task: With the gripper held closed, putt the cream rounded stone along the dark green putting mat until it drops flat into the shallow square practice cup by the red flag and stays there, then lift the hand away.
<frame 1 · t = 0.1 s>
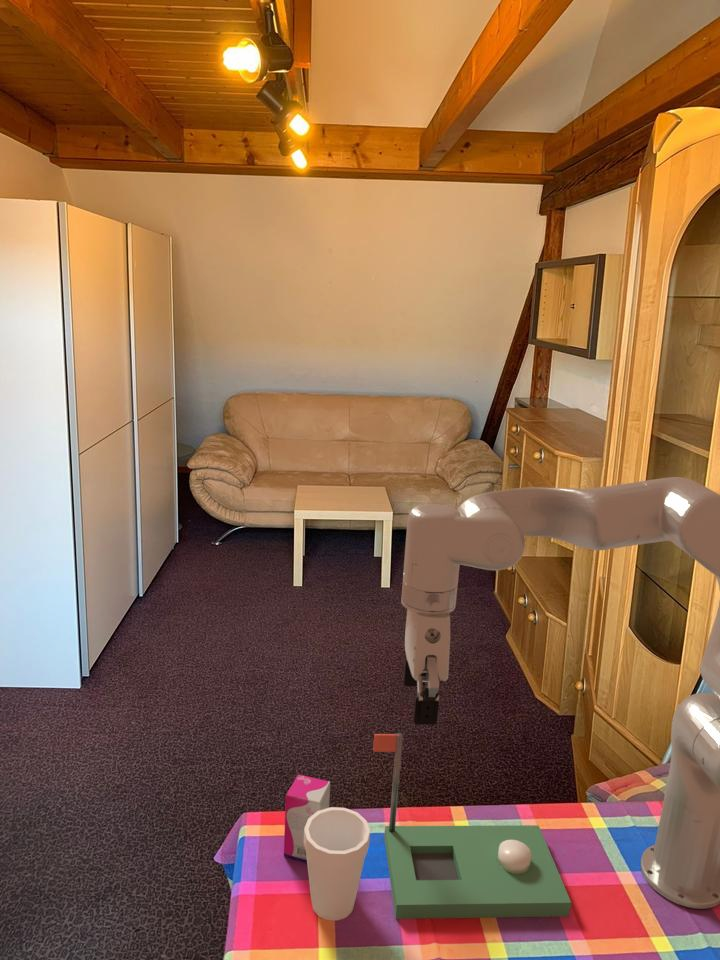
hand: (419, 703, 108), 31 cm above the table, fingers open, 9 cm apart
putting mat: (471, 875, 118), on the table
foam cup: (333, 904, 111), on the table
supplement box: (305, 849, 122), on the table
cream rounded stone: (513, 861, 118), point 2 cm above the table, touching putting mat
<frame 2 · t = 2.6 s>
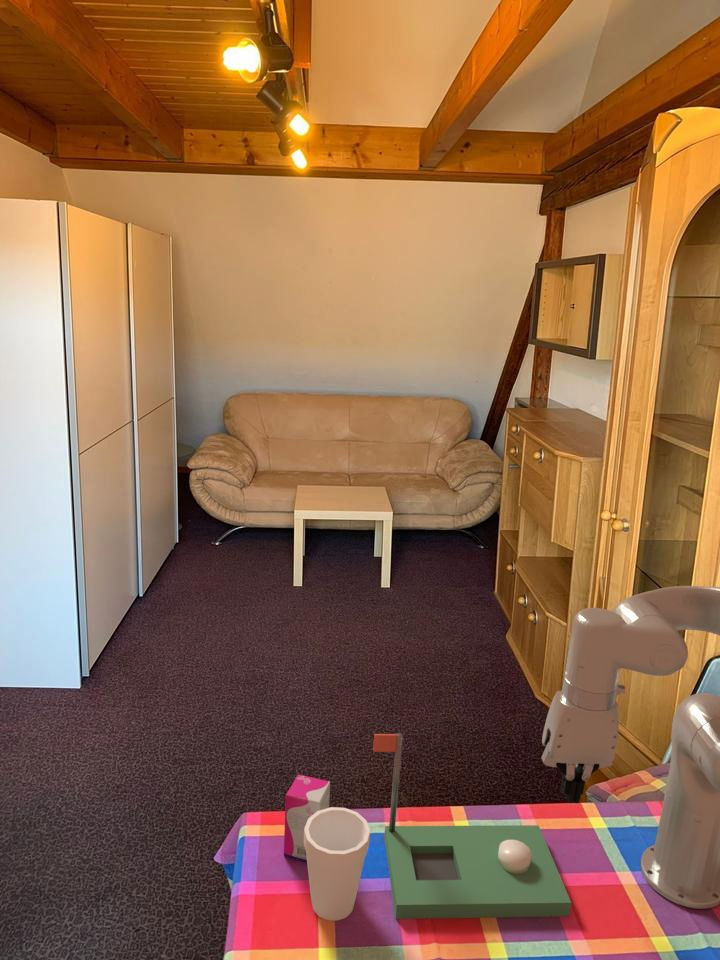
hand: (570, 796, 115), 15 cm above the table, fingers closed
nothing on the table moved.
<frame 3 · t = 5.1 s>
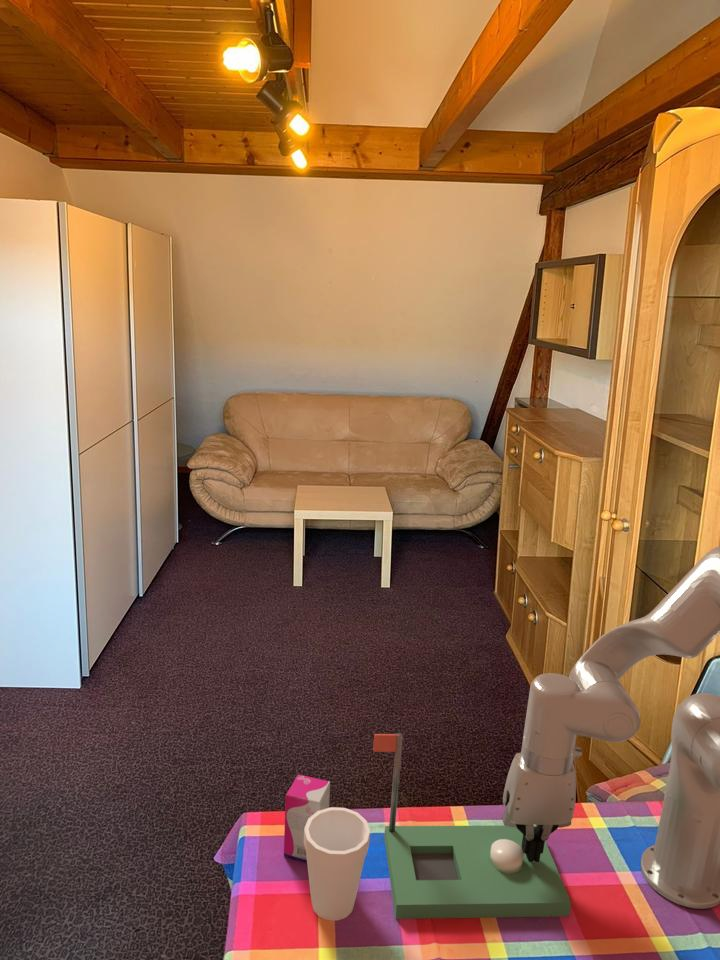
hand: (531, 855, 118), 4 cm above the table, fingers closed
cream rounded stone: (505, 861, 118), point 2 cm above the table, touching gripper, putting mat
everything else where it was.
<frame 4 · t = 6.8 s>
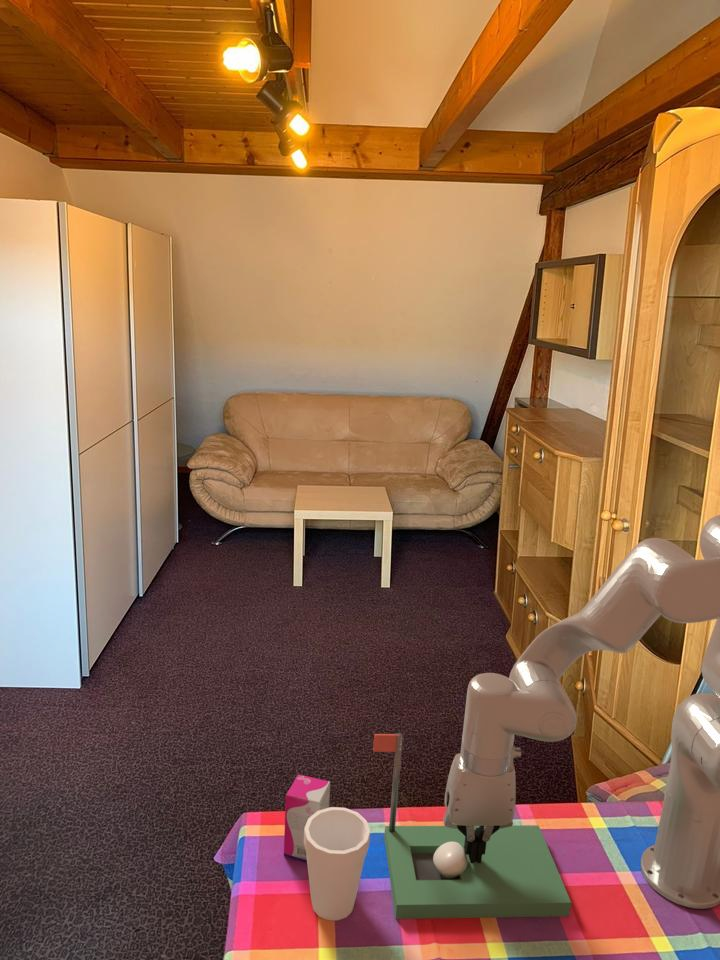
hand: (473, 856, 117), 4 cm above the table, fingers closed
cream rounded stone: (452, 864, 117), point 2 cm above the table, tilted 28°, touching putting mat
everything else where it was.
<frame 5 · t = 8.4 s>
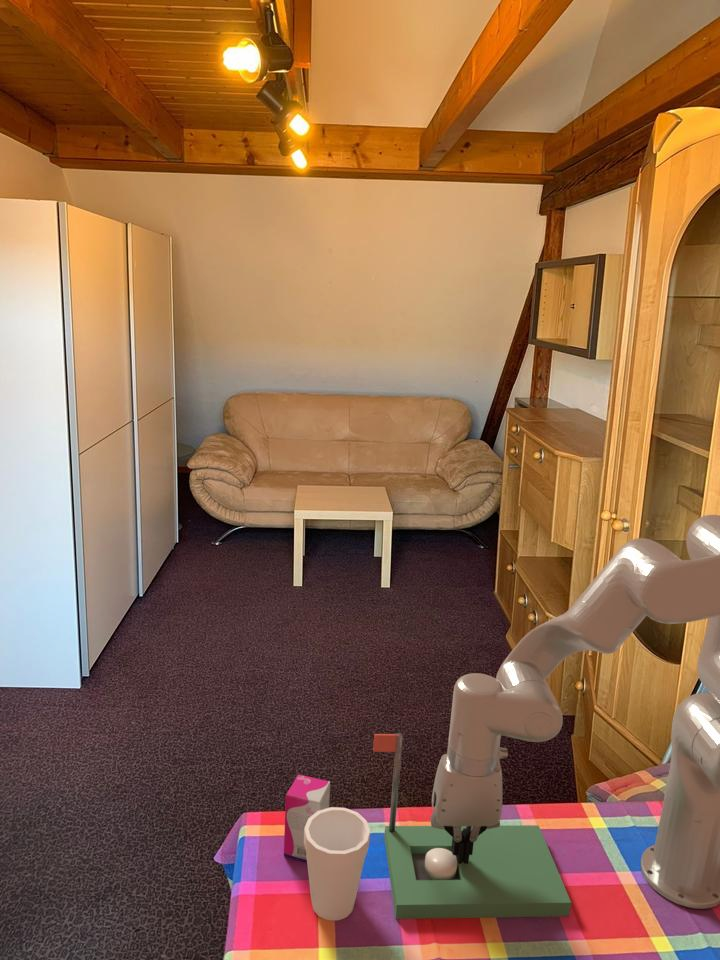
hand: (461, 856, 117), 4 cm above the table, fingers closed
cream rounded stone: (440, 870, 117), point 1 cm above the table, touching putting mat
everything else where it was.
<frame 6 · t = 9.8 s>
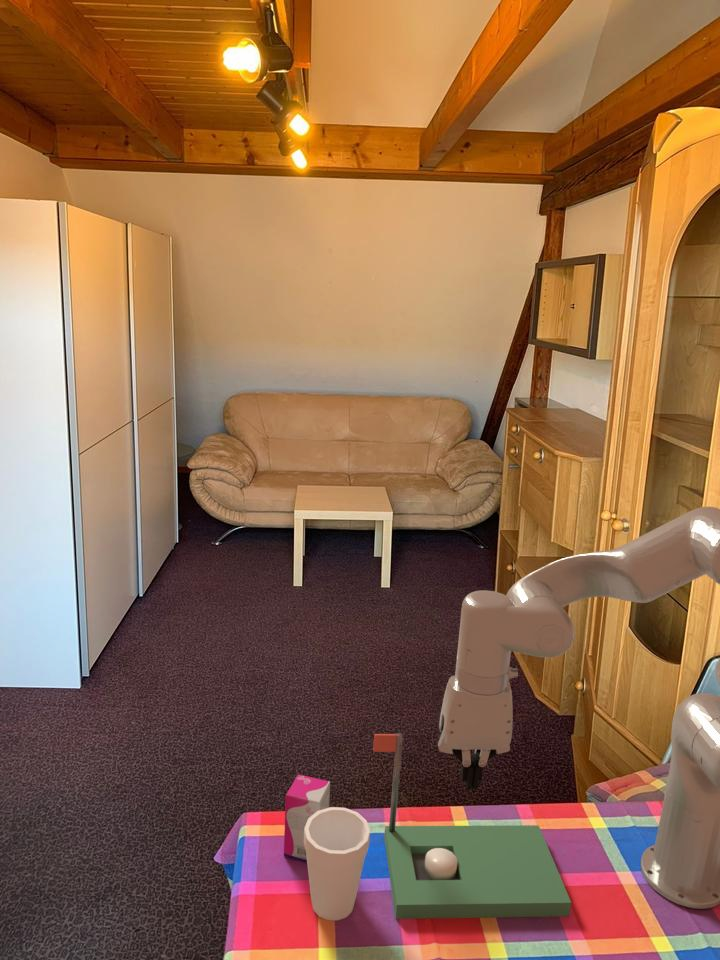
hand: (469, 783, 113), 17 cm above the table, fingers closed
nothing on the table moved.
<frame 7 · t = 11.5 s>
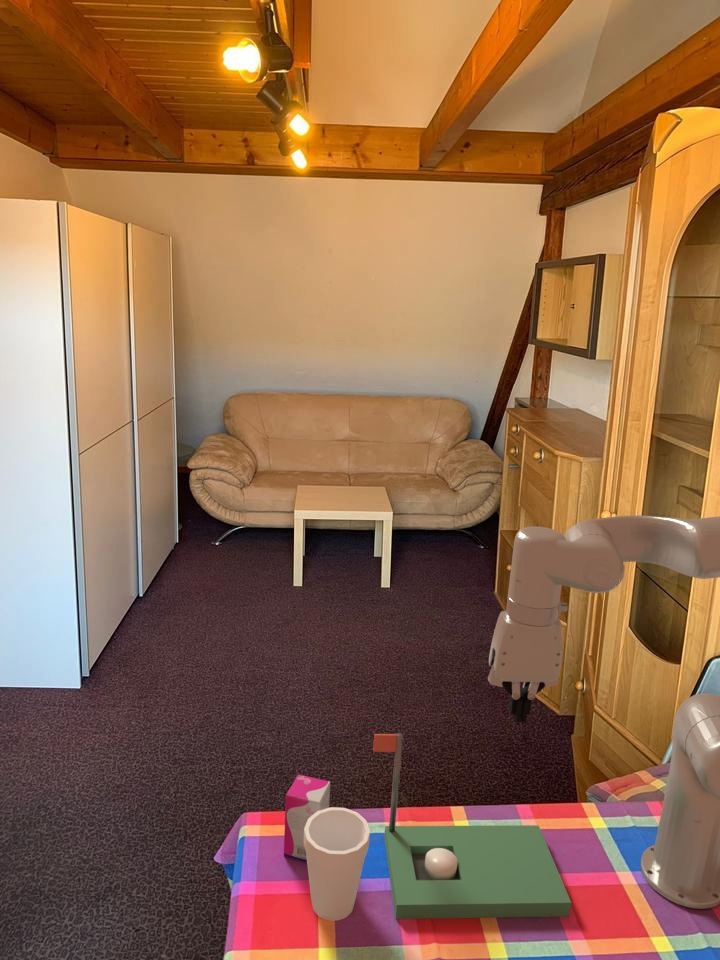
hand: (518, 717, 117), 25 cm above the table, fingers closed
nothing on the table moved.
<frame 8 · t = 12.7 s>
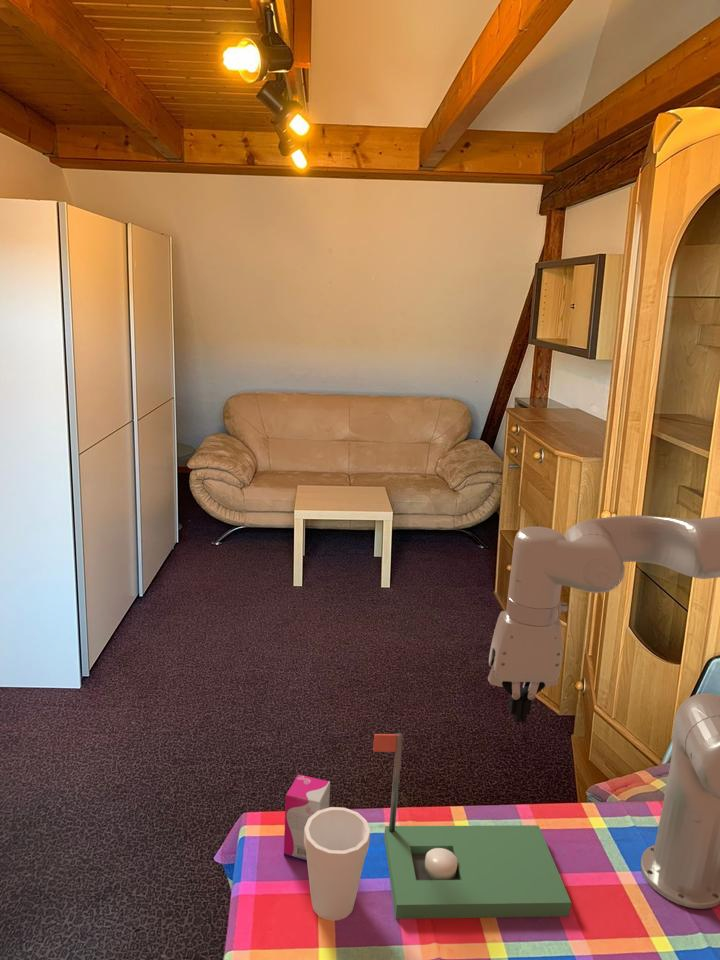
hand: (518, 717, 117), 25 cm above the table, fingers closed
nothing on the table moved.
at the end: cream rounded stone 0.9 cm from the target spot on the putting mat, point 1.0 cm above the putting mat's base; cream rounded stone tilted 0° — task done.
